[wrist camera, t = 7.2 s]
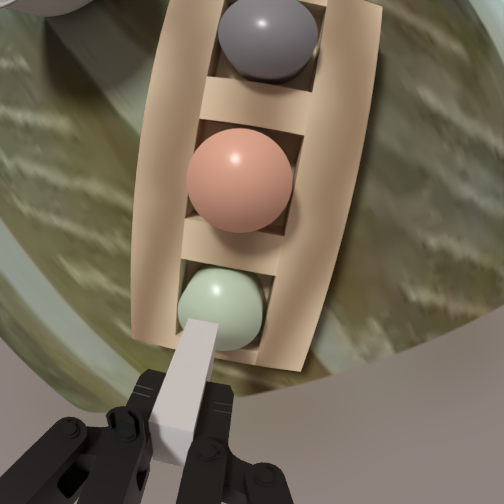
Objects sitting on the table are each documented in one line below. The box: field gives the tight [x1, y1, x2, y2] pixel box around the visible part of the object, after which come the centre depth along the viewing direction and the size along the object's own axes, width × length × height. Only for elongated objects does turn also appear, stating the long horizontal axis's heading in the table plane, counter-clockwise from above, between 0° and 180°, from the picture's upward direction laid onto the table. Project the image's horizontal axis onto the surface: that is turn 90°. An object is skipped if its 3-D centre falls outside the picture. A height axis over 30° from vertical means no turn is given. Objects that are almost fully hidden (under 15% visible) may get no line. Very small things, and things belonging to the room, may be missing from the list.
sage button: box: [178, 263, 263, 351], centre depth 19 cm, size 5×5×3 cm
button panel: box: [131, 0, 382, 372], centre depth 18 cm, size 12×24×3 cm, turn 170°
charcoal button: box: [218, 0, 318, 85], centre depth 14 cm, size 5×5×3 cm
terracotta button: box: [186, 128, 292, 233], centre depth 16 cm, size 5×5×3 cm
